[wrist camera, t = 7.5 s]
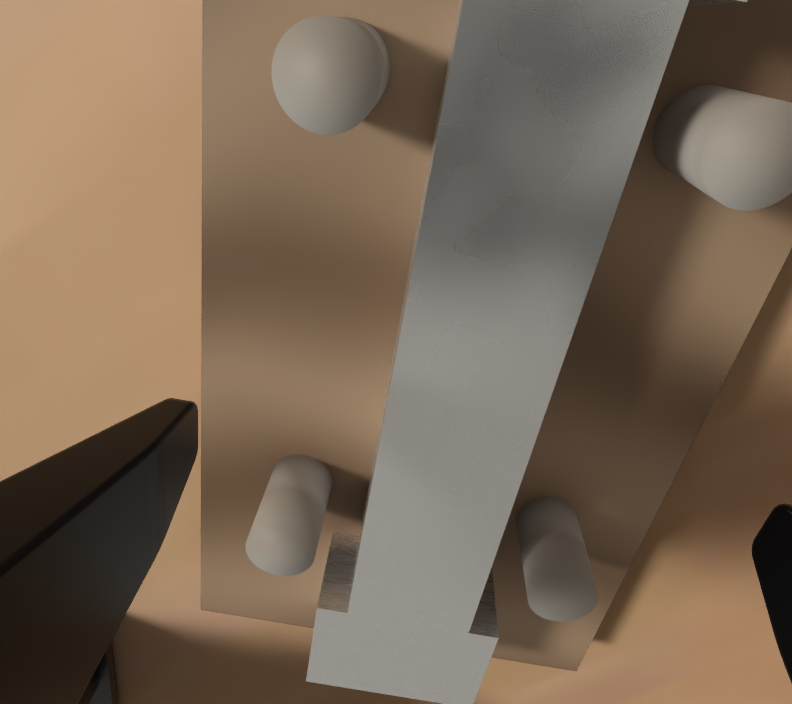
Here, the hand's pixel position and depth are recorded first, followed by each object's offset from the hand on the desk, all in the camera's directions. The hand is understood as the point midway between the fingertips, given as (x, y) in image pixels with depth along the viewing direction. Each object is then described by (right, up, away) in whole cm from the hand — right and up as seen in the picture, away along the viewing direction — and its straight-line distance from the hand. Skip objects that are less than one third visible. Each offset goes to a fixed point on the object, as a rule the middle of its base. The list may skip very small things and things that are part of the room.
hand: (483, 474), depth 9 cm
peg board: (0, +3, +6) cm, 6 cm away
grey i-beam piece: (0, +2, +4) cm, 5 cm away
